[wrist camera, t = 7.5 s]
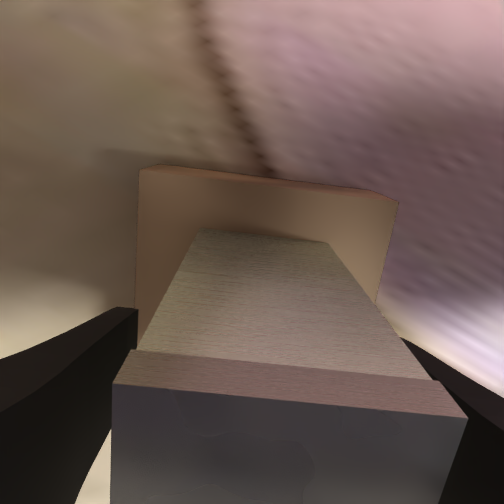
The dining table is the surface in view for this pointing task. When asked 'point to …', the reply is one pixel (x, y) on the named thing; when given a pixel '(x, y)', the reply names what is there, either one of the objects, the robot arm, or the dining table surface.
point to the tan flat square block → (251, 223)
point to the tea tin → (275, 388)
